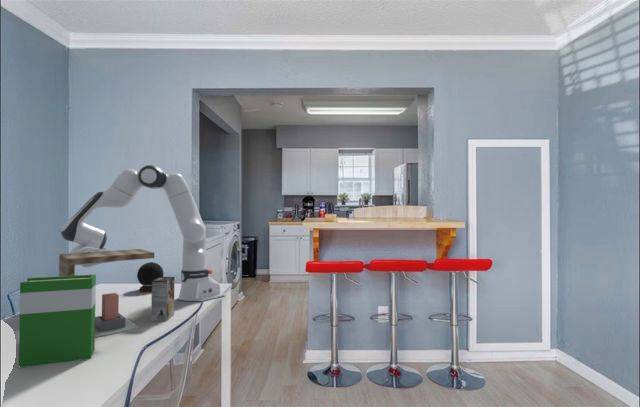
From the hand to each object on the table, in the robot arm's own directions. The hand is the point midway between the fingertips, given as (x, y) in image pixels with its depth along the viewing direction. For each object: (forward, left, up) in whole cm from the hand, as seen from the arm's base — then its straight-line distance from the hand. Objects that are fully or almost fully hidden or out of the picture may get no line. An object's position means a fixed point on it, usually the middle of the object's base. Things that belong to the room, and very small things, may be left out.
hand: (95, 261), depth 163 cm
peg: (+1, +26, -22) cm, 34 cm away
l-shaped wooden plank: (+1, +26, -22) cm, 34 cm away
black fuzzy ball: (-33, -31, -22) cm, 51 cm away
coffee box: (-19, +25, -22) cm, 39 cm away
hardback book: (+20, +47, -22) cm, 56 cm away
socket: (+1, +26, -22) cm, 34 cm away
